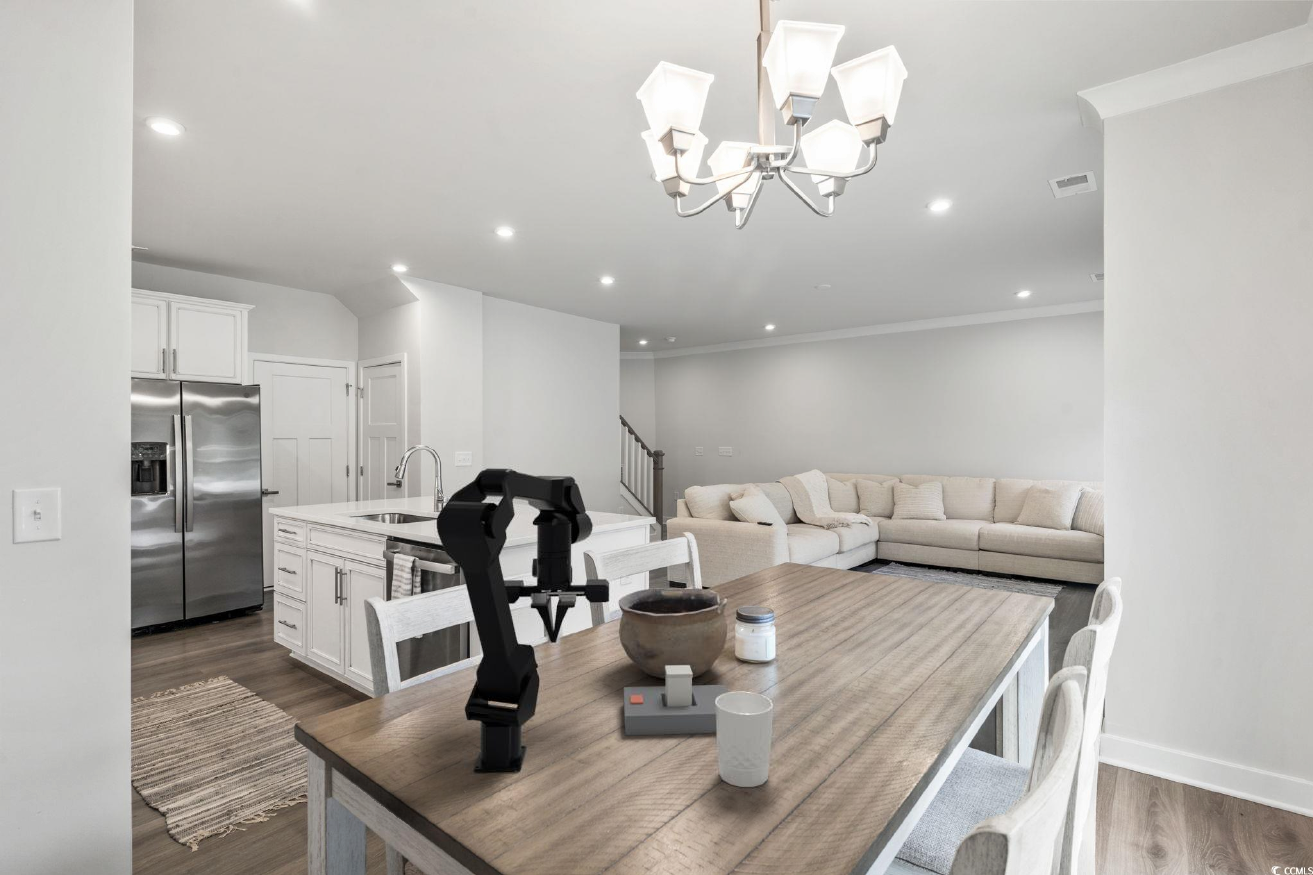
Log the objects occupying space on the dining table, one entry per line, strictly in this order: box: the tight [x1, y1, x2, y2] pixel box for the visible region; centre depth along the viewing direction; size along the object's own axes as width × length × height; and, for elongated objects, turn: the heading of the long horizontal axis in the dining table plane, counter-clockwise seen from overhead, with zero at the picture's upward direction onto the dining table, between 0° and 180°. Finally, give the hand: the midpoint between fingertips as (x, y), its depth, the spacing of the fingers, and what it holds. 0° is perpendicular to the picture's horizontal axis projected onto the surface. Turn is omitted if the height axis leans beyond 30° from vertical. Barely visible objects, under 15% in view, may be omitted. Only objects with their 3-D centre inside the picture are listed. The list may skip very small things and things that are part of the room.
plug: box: [665, 665, 694, 707], centre depth 107 cm, size 4×4×8 cm
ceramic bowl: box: [618, 587, 728, 680], centre depth 128 cm, size 22×22×15 cm
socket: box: [623, 684, 730, 736], centre depth 106 cm, size 12×18×3 cm, turn 94°
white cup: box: [715, 691, 774, 788], centre depth 88 cm, size 8×8×10 cm
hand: (553, 642), depth 108 cm, fingers closed
